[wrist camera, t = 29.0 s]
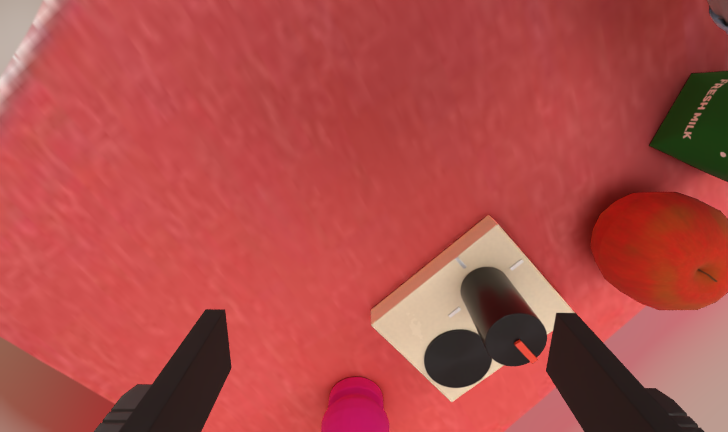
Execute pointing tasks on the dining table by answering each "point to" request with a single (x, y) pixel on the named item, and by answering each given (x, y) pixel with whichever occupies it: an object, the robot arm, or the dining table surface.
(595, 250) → the apple
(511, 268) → the hob
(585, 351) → the robot arm
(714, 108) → the milk carton
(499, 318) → the hob knob
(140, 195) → the dining table surface
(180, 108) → the dining table surface
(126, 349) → the dining table surface
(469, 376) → the burner
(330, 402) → the pepper mill
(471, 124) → the dining table surface
